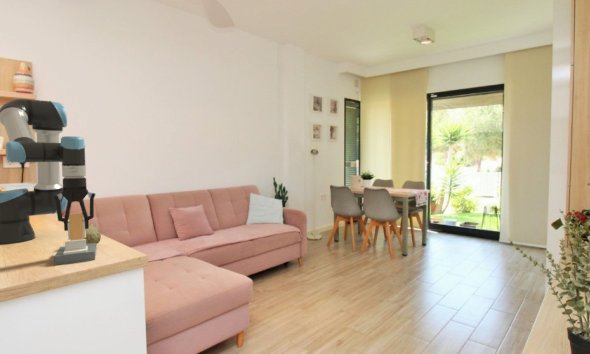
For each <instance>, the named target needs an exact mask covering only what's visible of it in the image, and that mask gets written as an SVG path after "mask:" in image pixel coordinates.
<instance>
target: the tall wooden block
mask: <svg viewBox="0 0 590 354" xmlns="http://www.w3.org/2000/svg"><path fill="white" fill-rule="evenodd" d="M83 220H84V216H83V213H82V212H77V213H70V214H69V219H68V221H70V240H69V241H72V240H81V239H84V238H83V224H82V221H83Z"/></svg>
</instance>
